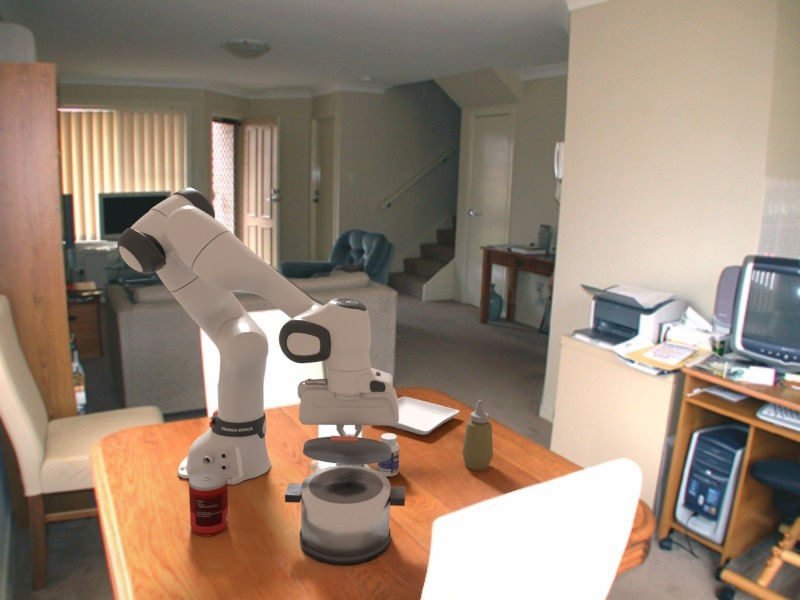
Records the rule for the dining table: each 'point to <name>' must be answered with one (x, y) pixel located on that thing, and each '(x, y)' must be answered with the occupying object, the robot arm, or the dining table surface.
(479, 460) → the squeeze bottle
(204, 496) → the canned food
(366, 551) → the cooker pot
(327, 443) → the cooker lid
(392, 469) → the pill bottle
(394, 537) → the dining table surface
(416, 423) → the salad plate
